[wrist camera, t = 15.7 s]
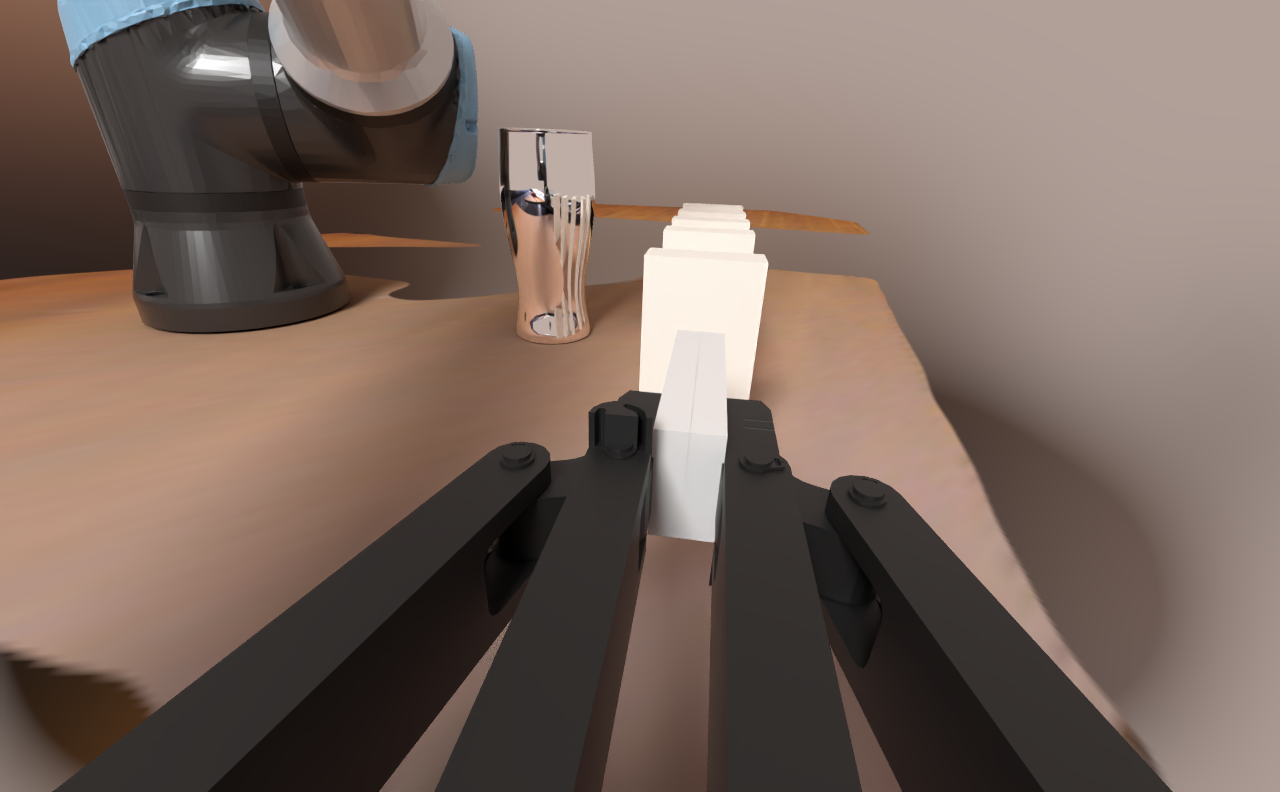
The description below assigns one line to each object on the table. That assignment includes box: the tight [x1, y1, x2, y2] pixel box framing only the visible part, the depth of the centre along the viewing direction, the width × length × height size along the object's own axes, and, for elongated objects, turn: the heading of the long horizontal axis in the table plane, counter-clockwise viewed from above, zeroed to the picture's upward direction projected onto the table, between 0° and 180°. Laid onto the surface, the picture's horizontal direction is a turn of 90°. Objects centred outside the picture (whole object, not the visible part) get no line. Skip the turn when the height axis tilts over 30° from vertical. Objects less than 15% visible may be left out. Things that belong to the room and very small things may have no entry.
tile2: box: [663, 226, 755, 254], centre depth 31 cm, size 2×5×10 cm, turn 82°
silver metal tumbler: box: [498, 128, 595, 344], centre depth 39 cm, size 7×7×15 cm
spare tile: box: [639, 248, 768, 400], centre depth 24 cm, size 2×5×10 cm, turn 82°
